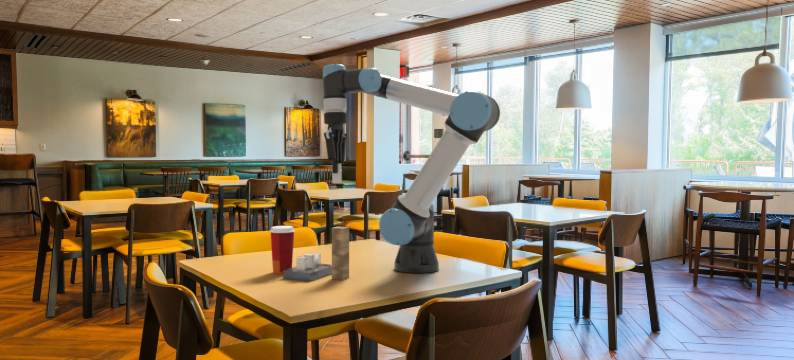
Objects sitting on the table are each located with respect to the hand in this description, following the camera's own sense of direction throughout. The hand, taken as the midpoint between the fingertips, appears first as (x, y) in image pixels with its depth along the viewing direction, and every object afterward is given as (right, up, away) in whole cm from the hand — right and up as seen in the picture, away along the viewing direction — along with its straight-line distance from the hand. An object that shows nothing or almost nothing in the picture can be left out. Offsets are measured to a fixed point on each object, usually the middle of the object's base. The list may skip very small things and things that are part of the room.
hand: (337, 183), depth 195 cm
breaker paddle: (-8, -27, -7) cm, 29 cm away
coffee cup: (-18, -30, -2) cm, 35 cm away
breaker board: (-8, -30, -7) cm, 32 cm away
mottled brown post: (+2, -30, -11) cm, 32 cm away
